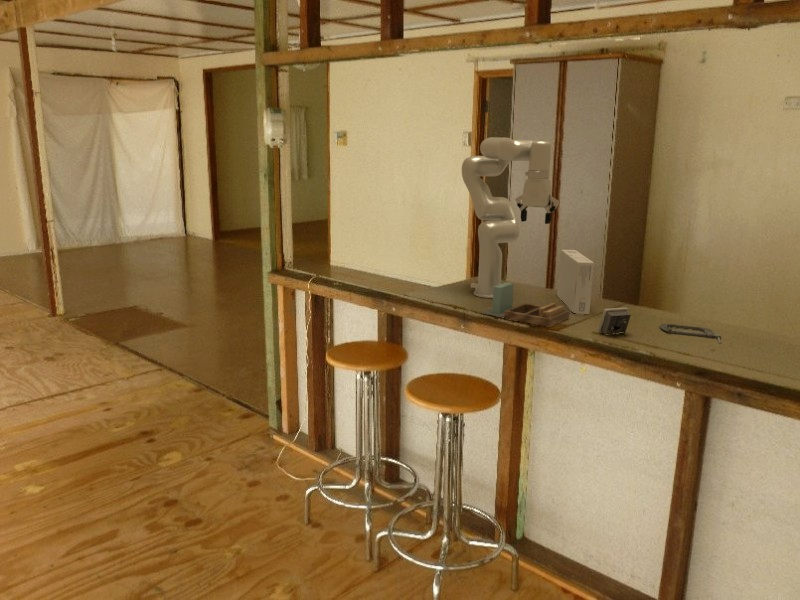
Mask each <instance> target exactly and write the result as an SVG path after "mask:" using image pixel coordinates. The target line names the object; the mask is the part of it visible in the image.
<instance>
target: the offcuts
mask: <svg viewBox="0 0 800 600" xmlns="http://www.w3.org/2000/svg"><path fill="white" fill-rule="evenodd" d="M564 310H565V306H564V305H559V306H557V303H555V302H551V303H548V304H547V305H544V307H541V308H539V317H544V318H551V317H553V316H555V315H558V314H560V313H562V312H564Z"/></svg>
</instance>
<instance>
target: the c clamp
mask: <svg viewBox="0 0 800 600" xmlns="http://www.w3.org/2000/svg"><path fill="white" fill-rule="evenodd" d="M670 327H676V328H675V329H674V328H670ZM659 328H660V329H661V330H662V331H664V332H666V333H667V334H668V333H673V334H675V333H676V335H681V334H683V335H684V336H691V335H692V337H693V336H694V337H702V338H707V339H717V342H718V345H722V341H721V337H722V334H716V333H715V332H714V330H712V329H710V328H707V327H701V326H693V325H692V326H691V325H683V324H677V323H675V324H674V323H660V325H659ZM678 328H684V329H683V330H682V329H679V330H678ZM688 329H692V330H688ZM698 330H699V332H696V331H698Z"/></svg>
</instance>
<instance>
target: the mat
mask: <svg viewBox="0 0 800 600" xmlns="http://www.w3.org/2000/svg"><path fill="white" fill-rule="evenodd" d="M514 307H515V306H512V308H514ZM482 314H487V315H493V316H498V317H504V312H503V313H500V314H497V313H492V308H491V309H488V310H485V311H483V312H480V315H482ZM487 315H486V316H487ZM498 317H497V318H498Z"/></svg>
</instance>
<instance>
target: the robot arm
mask: <svg viewBox="0 0 800 600" xmlns="http://www.w3.org/2000/svg"><path fill="white" fill-rule="evenodd" d="M479 150H480V151H479V152H480V153H481V155H472V156H468V157H466V158H464V160H463V161H462V165H461V177H462V181H463V184H464V186H465V187H466V189H467V191H468V193H469V195H470V199H471V203H472V205H473V209H474V213H475V215H476V218H478V219H479V220H481V221H483V222H481V223H480V224H479V225H478V228H477V236H478V237H477V238H478V243H479V244H478V245H479V246H478V247H479V252H478V253H479V255H478V256H479V257H478V276H477V277H478V278H477V283H476V282H471V283H470V288H471V289H475V290H474V291H473V295H474V296H476V297H479V298H484V299H493V289H494V286H497V285H500V284H502V267H503V253H502V249H501V247H500V246H499V244H505V243H508V244H509V243H514V242H516V241H517V240H518V239H519V238H520V227H519V222H518V220H517V217H516V214H515V210H514V207H513V204H512V203H511V201H510V200H509V199H508V198H506V197H503V196H499V197H497V196H493V195H492V192H491V189H490V187H489V185H488V184H487V183H486V181H484V179H482V178H481V177H498V176H500V175H501V174H502V173H503V172H504V171H505V169H506V168H507V166H508V165H509V164H510V162H511V161H513V162H516V161H517V162H519V161H520V162H528V170H527V171H525V172H524V173H525V176H527V178H525V181H524V184H523V189H522V190H523V191H522V195H520V196H517V197H516V198H514V201H515V202H516V206H517V207H518V208H519V211H520V221H521V222H522V223H523V222H527V221H528V220H527V218H528V208H529V207H530V208H531V207H532V208H542V209H543V208H544V210H545V211H546V212H545V215H544V224H545V225H548V224H551V223H552V217H553V216H552V215H553V212H554V211H556V210H557V208H558V206H559V204H560V200H558V199H556V198H555V197H553V196H552V194H553V193H552V183H551V179H550V169H551V157H552V156H551V155H552V144H551V142H550V141H546V140H544V141H543V140H534V139H533V140H531V139H530V140H529V139H512V138H510V137H500V136H499V137H498V136H497V137H496V136H495V137H494V136H493V137H492V136H491V137H488V138H485V139H484V140H482V142H481V143H480V147H479ZM552 203H553V205H552ZM551 205H552V206H551Z"/></svg>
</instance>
